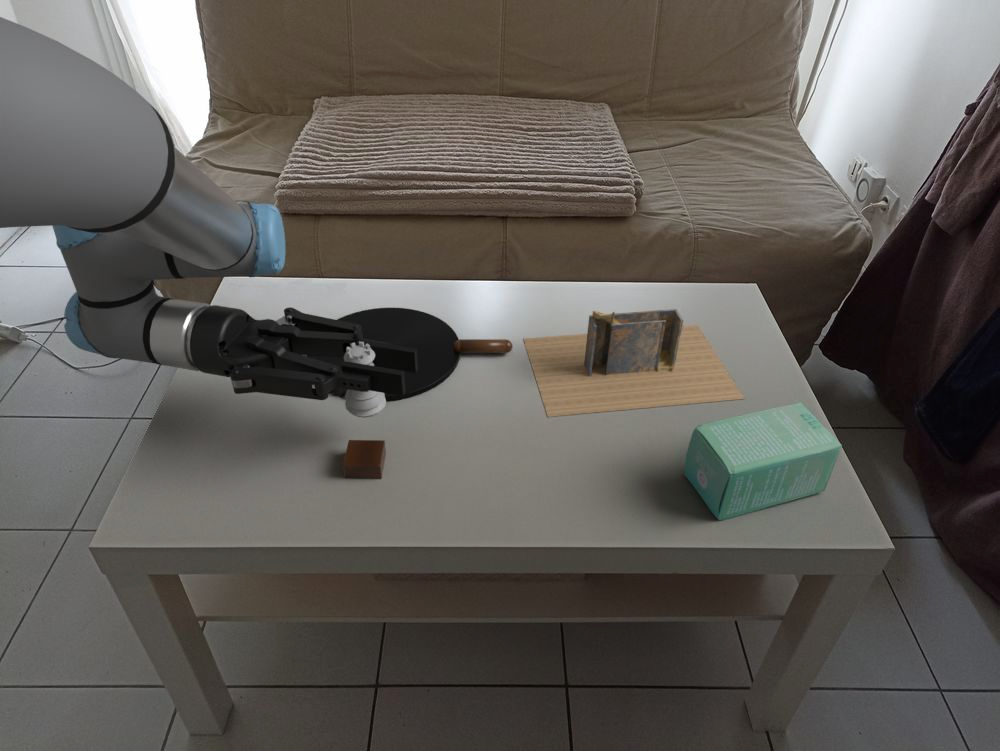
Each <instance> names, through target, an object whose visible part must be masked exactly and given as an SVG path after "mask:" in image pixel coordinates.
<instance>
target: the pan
mask: <svg viewBox="0 0 1000 751" xmlns="http://www.w3.org/2000/svg"><path fill="white" fill-rule="evenodd" d="M336 320H340V321H345V322H349V323H354V324H359V325H361V327H362V336H363V338H364V339H369V340H375V341H381V342H387V343H389V344H390V345H396V346H403V347H409V348H415V349H417V360H418V370H417V372H416V373H411V372H405V371H404V378H405V391H406V392H405V394H404V396H399V395H393V394H387V393H384V394H385V399H386V402H393V401H400V400H406V399H409V398H413V397H416V396H419V395H421V394H424V393H427V392H429V391H430V390H432V389H434V388H437V387H438V386H439V385H441V384H442V383H443V382H445V381H446V380H447V379H448V378H449V377H450V376H451V375H452V374H453V373H454V371H455V370H456V368H457V367H458V365H459V362H460V359H461V354H509V353H510V352H511V351H512V350H513V342H512V341H511V340H509V339H507V338H506V339H501V338H499V339H498V338H497V339H493V338H492V339H489V338H488V339H485V338H484V339H482V338H480V339H477V338H473V339H472V338H471V339H468V338H464V339H461V338H460V339H459V337H458V335H457V332H456V331H455V330H454V329H453V328H452V326H450V325H449V324H448V323H447V322H445V321H444V320H442V319H441V318H439V317H437V316H435V315H433V314H431V313H428V312H426V311H422V310H417V309H414V308H413V309H412V308H405V307H377V308H369V309H363V310H359V311H355V312H352V313H349V314H346V315H344V316H341V317H339V318H337V319H336ZM306 357H309V358H313V359H316V360H320V361H323V362H326V363H330V364H333V365H336V366H338V367H339V370H342V368H341V365H342V363H343V362H344V357H327V356H309V355H306ZM347 390H348V389H343V388H342V394H341V395H339V396H338V397H341V398H345V395H346V392H347ZM330 393H332V394H333V391H331V392H330Z"/></svg>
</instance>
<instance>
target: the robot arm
mask: <svg viewBox="0 0 1000 751" xmlns="http://www.w3.org/2000/svg"><path fill="white" fill-rule="evenodd" d="M172 135H173V134H172V133H171V131H170V129H169V126H168V125H167V123H166V121H165V120H164V118H163V117H162V115H161V114H160V113H159V111H157V109H156V108H155V107H154V106H153V105H152V104H151V103H150V102H149V101H147V99H145V97H143V96H142V95H141V94H140V93H139V92H138V91H137V90H136V89H135V88H133V87H132V86H131V85H129V84H128V83H126V81H124V80H123V79H121V78H120V77H119V76H118V75H116V74H115V73H113V72H112V71H110V70H109V69H107V68H106V67H104V66H103V65H101V64H99V63H98V62H96V61H94V60H92V59H91V58H89V57H87V56H86V55H84V54H82V53H80V52H78V51H76V50H75V49H73V48H71V47H70V46H67V45H65V44H63V43H62V42H60V41H58V40H56V39H54V38H51V37H49V36H47V35H44V34H42V33H40V32H38V31H35V29H34V30H33V29H32V28H29V27H26V26H25V25H22V24H20V23H17V22H15V21H12V20H9V19H7V18H5V17H1V16H0V229H7V228H22V227H24V228H25V227H26V228H27V227H50V226H51V227H52V229H53V232H54V235H55V239H56V242H55V243H56V247H57V248H58V249H59V251H60V253H61V256H62V259H63V262H65V265H66V268H67V270H68V273H69V275H70V278H71V281H72V283H73V286H74V289H75V292H74V293H73V294H72V295H71V297H70V298H69V299H68V301H67V303H66V306H65V307H64V308H65V309H64V311H63V312H64V317H65V319H66V320H65V323H64V324H63V327H64V331H65V334H66V337H67V338H68V340H69V341H70V342H71V343H72V344H73V345H74V346H75V347H76V348H78V349H79V350H82V351H85V352H89V353H92V354H96V355H100V356H102V357H105V358H109V359H121V360H128V361H137V362H142V363H149V364H155V365H158V366H165V367H172V368H178V369H182V370H187V371H188V370H189V371H194V372H201V373H203V374H209V375H213V376H221V377H225V378H230V380H231V386H232V389H233V392H234V393H235V394H236V395H242V394H252V393H259V394H268V395H276V396H284V397H291V398H299V399H307V400H314V401H315V400H317V401H325V400H327V399H328V398H329V394H330V393H332V392H331V391H333V393H332V396H333V397H340V396H339V395H341V394H342V388H343V389H349V390H355V391H361V392H368V391H369V390H370V391H376V392H381V393H387V394H393V395H399V396H404V394H405V392H406V391H405V378H404V371H405V372H411V373H416V372H417V370H418V360H417V349H415V348H409V347H403V346H396V345H390V344H389V343H387V342H381V341H375V340H369V339H364V338H363V336H362V327H361V325H359V324H354V323H349V322H345V321H340V320H337V319H334V318H329V317H325V316H319V315H315V314H311V313H310V314H309V313H304V312H302V311H300V310H299V309H296V308H295V307H286V308H284V309H283V313H284V314H283V315H284V316H282V317H280V318H278V319H276V320H275V319H271V318H266V319H256V318H254V317H253V316H252V315H250V314H249V313H248V312H247V311H245V310H243V309H241V308H237V307H228V306H222V305H216V304H214V305H211V304H209V303H206V302H201V301H192V300H187V299H186V300H184V299H178V298H171V297H166V296H161V295H158V294H157V291H156V289H155V281H157V280H159V281H160V280H161V281H162V280H181V279H182V280H185V279H199V278H203V279H205V278H233V277H248V278H255V277H259V276H269V275H270V276H271V275H277V274H279V273H281V272H282V270H283V269H284V267H285V263H286V253H287V252H286V251H287V250H286V248H287V247H286V235H285V227H284V222H283V218H282V215H281V212H280V210H279V209H278V208H277V206H275V205H274V204H271V203H254V202H253V201H249V202H247V203H238V202H237V201H236V200H235V199H234V198H233V197H231V196H230V195H229V194H228V193H227V192H226V191H225V190H224V189H223V188H222V187H220V185H218V184H217V183H216V182H215V181H214V180H213V179H211V178H210V176H208V175H206V173H205V172H203V171H202V169H200V168H199V167H198V166H196V164H195V163H194V162H192V161H191V160H190V159H189V158H187V156H185V155H184V154H183V153H182V152H181V151H180V150H178V148H177V147H176V145H175V142H174V138H173V136H172ZM354 342H355V345H359V342H364V345H365V346H366V344H367V343H368V344H369V345H370V348H371V349H372V350H373V351H374V352H375V358H374V360H373V361H372V362H373V363H374V366H371V365H365V364H358V363H352V362H346V361H344V362H343V363H342V365H341V368H342V370H339V367H338V366H336V365H333V364H330V363H326V362H323V361H320V360H316V359H313V358H309V357H307V355H309V356H327V357H344V355H345V353H346V352H347V351H346V349H347V347H350V348H351V345H350V344H352V343H354ZM313 386H314V387H313Z"/></svg>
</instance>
